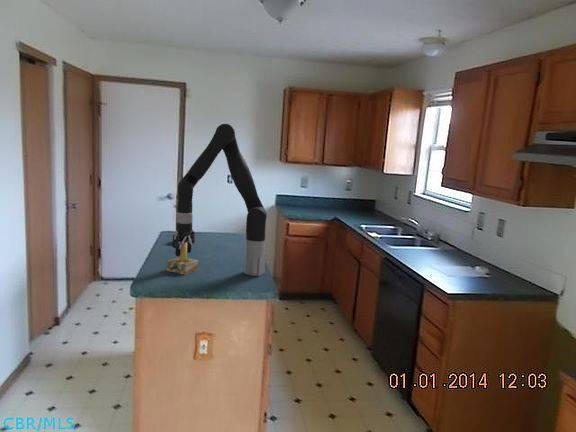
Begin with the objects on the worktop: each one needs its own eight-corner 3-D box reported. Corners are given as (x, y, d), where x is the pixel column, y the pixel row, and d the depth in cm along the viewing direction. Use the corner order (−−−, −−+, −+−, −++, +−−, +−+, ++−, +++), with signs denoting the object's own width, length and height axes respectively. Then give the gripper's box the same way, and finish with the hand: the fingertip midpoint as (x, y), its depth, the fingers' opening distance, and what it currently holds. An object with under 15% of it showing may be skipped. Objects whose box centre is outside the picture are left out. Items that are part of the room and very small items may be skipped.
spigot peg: (187, 270, 219) (188, 242, 216) (183, 272, 215) (184, 243, 213) (181, 269, 220) (182, 241, 218) (177, 270, 217) (178, 242, 214)
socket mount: (198, 270, 220) (198, 260, 219) (181, 276, 208) (181, 266, 207) (179, 266, 224) (180, 256, 223) (162, 272, 212) (162, 262, 211)
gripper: (181, 224, 206) (180, 258, 208) (199, 220, 219) (198, 252, 221) (168, 222, 209) (167, 256, 211) (186, 218, 221) (186, 250, 224)
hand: (183, 254), depth 216 cm, fingers open, 8 cm apart
